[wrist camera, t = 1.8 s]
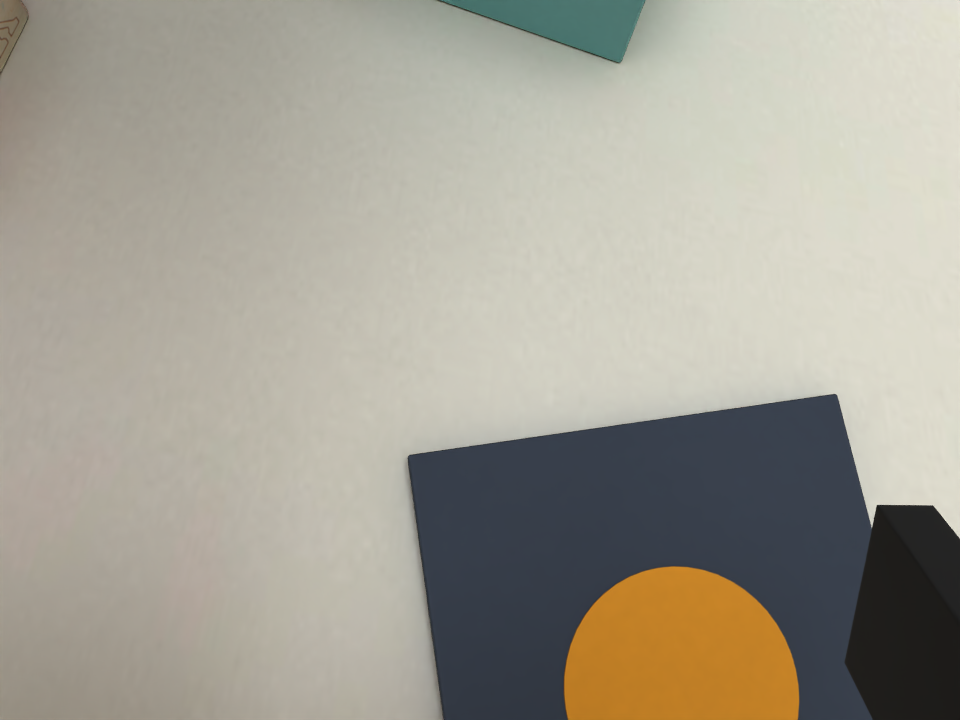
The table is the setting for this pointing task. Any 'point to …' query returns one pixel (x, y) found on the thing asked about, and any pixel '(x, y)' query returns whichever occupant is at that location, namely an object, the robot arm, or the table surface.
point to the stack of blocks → (10, 26)
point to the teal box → (568, 21)
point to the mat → (648, 569)
